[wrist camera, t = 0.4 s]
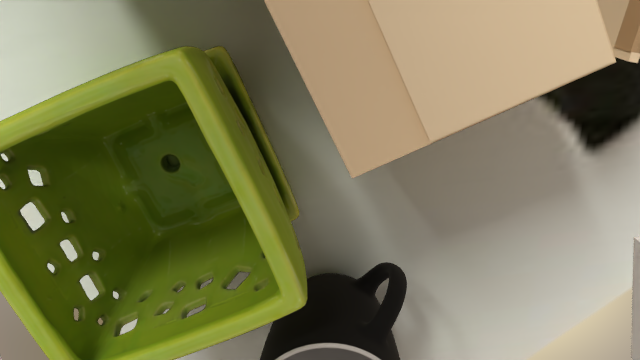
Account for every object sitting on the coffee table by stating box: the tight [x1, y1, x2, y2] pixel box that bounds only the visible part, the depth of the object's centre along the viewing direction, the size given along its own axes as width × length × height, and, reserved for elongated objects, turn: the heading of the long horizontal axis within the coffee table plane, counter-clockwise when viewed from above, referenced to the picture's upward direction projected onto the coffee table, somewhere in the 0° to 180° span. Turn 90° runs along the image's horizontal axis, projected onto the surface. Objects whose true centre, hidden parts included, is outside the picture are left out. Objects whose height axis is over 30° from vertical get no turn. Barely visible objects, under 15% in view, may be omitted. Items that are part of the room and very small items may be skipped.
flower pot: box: [0, 46, 307, 360], centre depth 33 cm, size 14×14×13 cm
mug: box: [260, 262, 407, 360], centre depth 37 cm, size 12×9×10 cm
